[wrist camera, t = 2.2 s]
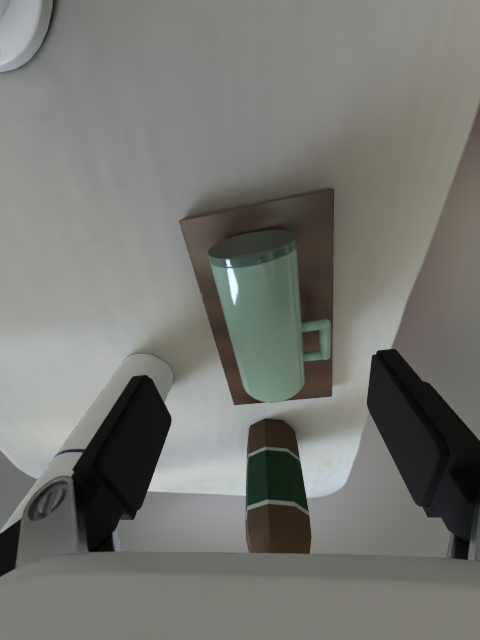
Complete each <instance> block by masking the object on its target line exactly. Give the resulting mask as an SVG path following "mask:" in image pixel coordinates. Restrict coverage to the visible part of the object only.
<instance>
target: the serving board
mask: <svg viewBox="0 0 480 640" xmlns="http://www.w3.org/2000/svg"><path fill="white" fill-rule="evenodd" d="M179 222H180V225H181V229H182V232H183V235H184V239H185V242H186V245H187V249H188V252H189V255H190V259H191V262H192V265H193V269H194V272H195V275H196V279H197V282H198V285H199V289H200V292H201V295H202V299H203V302H204V305H205V309H206V312H207V315H208V319H209V322H210V325H211V329H212V332H213V335H214V339H215V342H216V345H217V349H218V352H219V355H220V359H221V362H222V365H223V369H224V372H225V376H226V379H227V382H228V386H229V389H230V392H231V396H232V399H233V402H234V405H241V404H252V403H264V402H263V401H260V400H257V399H255V398H253V397H251V396H250V395H249V394H248V393H247V392H246V391H245V389H244V387H243V385H242V381H241V377H240V374H239V370H238V366H237V362H236V359H235V355H234V351H233V348H232V344H231V340H230V336H229V333H228V329H227V325H226V321H225V318H224V314H223V310H222V307H221V303H220V299H219V295H218V292H217V288H216V284H215V280H214V277H213V273H212V269H211V266H210V261H209V258H208V254H207V252H208V250H209V249H210V248H211V247H212V246H214V245H215V244H217V243H219V242H221V241H224V240H226V239H229V238H232V237H235V236H239V235H243V234H247V233H252V232H258V231H266V230H285V231H290V232H293V233H295V234H296V236H297V250H298V266H299V282H300V298H301V315H302V322H307V321H314V320H322V319H328V320H329V321H330V323H331V343H330V358H329V359H327V360H315V361H306V362H304V363H305V382H304V385H303V387H302V389H301V390H300V391H299V392H298V393H297V394H296V395H294V396H293V397H291V398H289V399H287V400H298V399H309V398H320V397H331V396H332V338H333V232H334V189H332V188H326V189H322V190H317V191H312V192H307V193H302V194H298V195H293V196H288V197H283V198H278V199H274V200H269V201H264V202H259V203H254V204H249V205H245V206H240V207H235V208H230V209H225V210H221V211H216V212H211V213H206V214H201V215H197V216H192V217H187V218H183V219H181V220H180V221H179ZM303 347H304V352H312V351H319V330H316V331H308V332H303ZM284 401H286V400H284Z"/></svg>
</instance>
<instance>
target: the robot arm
mask: <svg viewBox="0 0 480 640" xmlns="http://www.w3.org/2000/svg"><path fill="white" fill-rule="evenodd" d="M52 7H53V0H0V72H5V71H9V70H13V69H17V68H18V67H20V66H21V65H23V64H24V63H26V62H28V61H29V60H30V59H31V58H32V56H33V55H34V54H35V53H36V52H37V50H38V49H39V48H40V46H41V44H42V42H43V39H44V37H45V35H46V33H47V31H48V26H49V22H50V17H51V13H52ZM367 406H368V409H369V412H370V414H371V416H372V418H373V420H374V422H375V424H376V426H377V428H378V430H379V432H380V434H381V436H382V438H383V440H384V442H385V444H386V446H387V448H388V450H389V452H390V454H391V455H392V458H393V460H394V462H395V464H396V466H397V468H398V470H399V472H400V474H401V476H402V478H403V480H404V482H405V484H406V486H407V488H408V490H409V492H410V494H411V496H412V498H413V500H414V502H415V503H416V504H417V505H418V506H422V507H423V509H424V511H425V513H426V515H427V517H441V518H442V520H443V521H444V523H445V525H446V527H447V529H448V530H449V531H450V532H451V535H450V540H449V547H448V552H447V558H440V557H438V558H437V557H414V556H389V555H388V556H387V555H347V554H294V553H222V552H121V548H120V544H119V538H118V533H117V528H116V527H117V525H118V522H119V520H133V519H134V518H135V515H136V512H137V510H139V509H140V508H141V506H142V504H143V502H144V499H145V496H146V493H147V490H148V487H149V485H150V482H151V479H152V476H153V473H154V471H155V468H156V465H157V462H158V459H159V457H160V454H161V451H162V448H163V445H164V443H165V440H166V437H167V434H168V431H169V428H170V426H171V416H170V414H169V412H168V410H167V408H166V406H165V404H164V402H163V399H162V397H161V395H160V393H159V391H158V389H157V387H156V385H155V383H154V381H153V380H152V378H149V377H148V376H147V375H139V376H133V377H132V378H131V379H130V381H129V382H128V384H127V385H126V387H125V388H124V390H123V392H122V393H121V395H120V396H119V398H118V399H117V401H116V402H115V404H114V406H113V407H112V409H111V410H110V412H109V413H108V415H107V416H106V418H105V419H104V421H103V423H102V424H101V426H100V427H99V429H98V430H97V432H96V433H95V435H94V436H93V438H92V440H91V441H90V443H89V444H88V446H87V447H86V449H85V450H84V452H83V454H82V455H81V457H80V458H79V460H78V461H77V463H76V464H75V466H74V467H73V469H72V470H73V471H74V473H73V474H72V476H71V477H70V476H67V475H62V476H58V477H56V478H54V479H52V480H50V481H48V482H47V483H46V484H44V485H43V486H42V487H41V488H40V489H39V490H38V491H36V492H35V493H34V495H33V496H32V497H31V499H30V500H29V501H28V503H27V505H26V506H25V508H24V511H23V514H22V518H21V519H20V520H18V521H17V522H15V523H14V524H13V525H11V526H10V527H9V528H7V529H6V530H4V531H3V532H2V533H0V640H480V441H479V440H478V438H477V437H476V436H475V435H474V434H473V433H472V431H471V430H470V429H469V428H468V427H467V426H466V425H465V423H464V422H463V421H462V420H461V419H460V418H459V417H458V415H457V414H456V413H455V412H454V411H453V410H452V409H451V408H450V406H449V405H448V404H447V403H446V402H445V401H444V400H443V398H442V397H441V396H440V395H439V394H438V393H437V391H436V390H435V389H434V388H433V387H432V386H431V385H430V384H429V383H427V382H423V381H422V380H421V379H420V378H419V376H418V375H417V374H416V373H415V372H414V370H413V369H412V368H411V367H410V366H409V364H408V363H407V362H406V361H405V360H404V359H403V357H402V356H401V355H400V354H399V353H398V352H397V351H396V350H395V349H389V350H379V351H377V353H376V355H373V356H372V361H371V370H370V379H369V388H368V397H367Z"/></svg>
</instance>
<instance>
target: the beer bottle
mask: <svg viewBox="0 0 480 640" xmlns="http://www.w3.org/2000/svg"><path fill="white" fill-rule="evenodd" d="M245 522H246V542H247V546H248V550H249V553H294V554H310V545H311V528H310V518H309V511H308V505H307V499H306V493H305V487H304V481H303V475H302V469H301V463H300V457H299V451H298V445H297V440H296V436H295V432H294V430H293V429H292V428H291V427H289V426H288V425H287V424H286V423H285V422H284V421H281V420H269V419H264V420H262V421H260V422H258V423H256V424H254V425H252V426H250V429H249V436H248V446H247V478H246V521H245Z"/></svg>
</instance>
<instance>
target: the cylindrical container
mask: <svg viewBox="0 0 480 640" xmlns="http://www.w3.org/2000/svg"><path fill="white" fill-rule="evenodd" d="M139 375H147V376H148V377H149V378H152V380H153V381H154V383H155V385H156V387H157V389H158V391H159V393H160V395H161V397H162V399H163V402H164V403H165V400H166V398H167V395H168V393H169V390H170V388H171V385H172V383H173V379H174V376H173V372H172V370H171V368H170V367H169V366H168V365H167V364H166V363H165V362H164V361H163V360H161V359H160V358H158V357H155V356H153V355H149V354H134V355H130V356H129V357H127V358H126V359H125V360H124V361H123V362H122V364H121V365H120V366H119V368H118V369H117V371H116V372H115V373H114V375H113V376H112V378H111V379H110V380H109V382H108V383H107V385H106V386H105V387H104V389H103V390H102V391H101V393H100V394H99V396H98V397H97V398H96V400H95V401H94V403H93V404H92V405H91V407H90V408H89V409H88V411H87V412H86V414H85V415H84V416H83V418H82V419H81V420H80V422H79V423H78V425H77V426H76V427H75V429H74V430H73V431H72V433H71V434H70V436H69V437H68V438H67V440H66V441H65V442H64V444H63V445H62V447H61V448H60V449H59V451H58V452H57V453H56V455H55V456H54V458H53V459H52V460H51V462H50V463H49V465H48V466H47V467H46V469H45V470H44V471H43V473H42V474H41V476H40V477H39V478H38V480H37V481H36V483H35V484H34V485H33V487H32V488H31V490H30V491H29V492H28V494H27V495H26V497H25V498H24V499H23V501H22V502H21V504H20V505H19V506H18V508H17V509H16V510H15V512H14V513H13V515H12V516H11V517H10V519H9V520H8V521H7V523H6V524H5V526H4V527H3V528H2V530H1V531H0V533H2V532H3V531H4V530H6V529H7V528H9V527H10V526H11V525H13V524H14V523H15V522H17V521H18V520H20V519H21V518H22V514H23V511H24V508H25V506H26V505H27V503H28V501H29V500H30V499H31V497H32V496H33V495H34V493H35V492H36V491H38V490H39V489H40V488H41V487H42V486H43V485H44V484H46V483H47V482H48V481H50V480H52V479H54V478H56V477H58V476H62V475H67V476H70V477H71V476H72V474H73V473H74V471H73V470H72V469H73V467H74V466H75V464H76V463H77V461H78V460H79V458H80V457H81V455H82V454H83V452H84V450H85V449H86V447H87V446H88V444H89V443H90V441H91V440H92V438H93V436H94V435H95V433H96V432H97V430H98V429H99V427H100V426H101V424H102V423H103V421H104V419H105V418H106V416H107V415H108V413H109V412H110V410H111V409H112V407H113V406H114V404H115V402H116V401H117V399H118V398H119V396H120V395H121V393H122V392H123V390H124V388H125V387H126V385H127V384H128V382H129V381H130V379H131V378H132V377H133V376H139Z"/></svg>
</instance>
